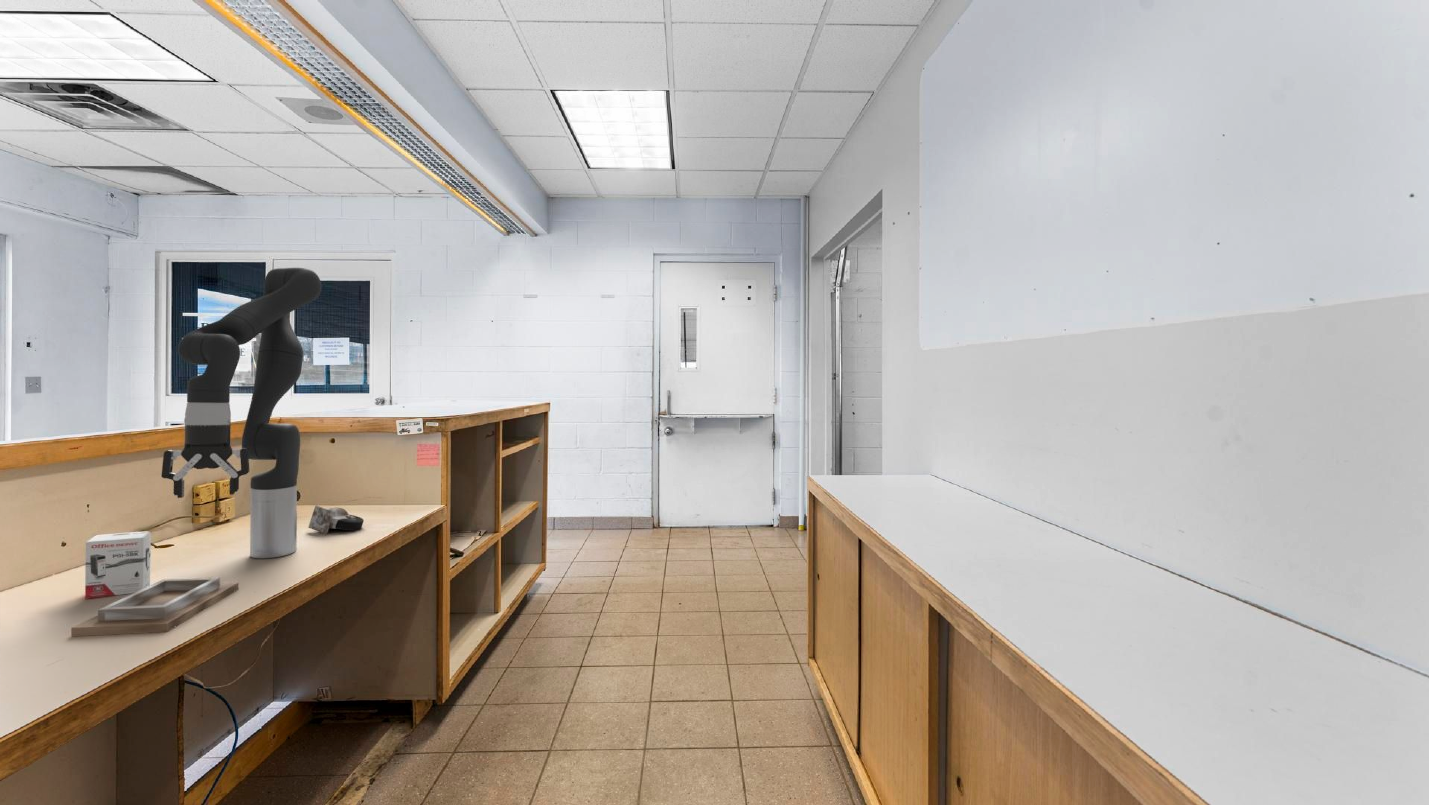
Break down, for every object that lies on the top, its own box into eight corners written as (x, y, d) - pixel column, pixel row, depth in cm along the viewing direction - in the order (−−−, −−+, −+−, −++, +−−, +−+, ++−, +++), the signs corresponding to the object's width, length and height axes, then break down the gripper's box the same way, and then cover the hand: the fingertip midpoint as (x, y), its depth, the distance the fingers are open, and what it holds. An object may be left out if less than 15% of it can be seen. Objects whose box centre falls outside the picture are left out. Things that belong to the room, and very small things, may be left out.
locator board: (160, 592, 115) (160, 575, 115) (238, 589, 118) (238, 573, 118) (71, 636, 95) (71, 616, 95) (167, 631, 98) (167, 612, 98)
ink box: (83, 600, 110) (82, 541, 109) (93, 591, 114) (92, 535, 113) (144, 592, 115) (143, 536, 114) (151, 584, 119) (151, 530, 118)
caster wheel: (365, 535, 167) (337, 539, 158) (335, 524, 170) (306, 527, 160) (372, 514, 168) (345, 516, 158) (342, 503, 170) (313, 505, 160)
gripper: (251, 422, 130) (250, 491, 130) (168, 422, 122) (166, 496, 122) (247, 423, 124) (246, 495, 124) (159, 423, 116) (157, 501, 116)
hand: (206, 495), depth 123 cm, fingers open, 8 cm apart
